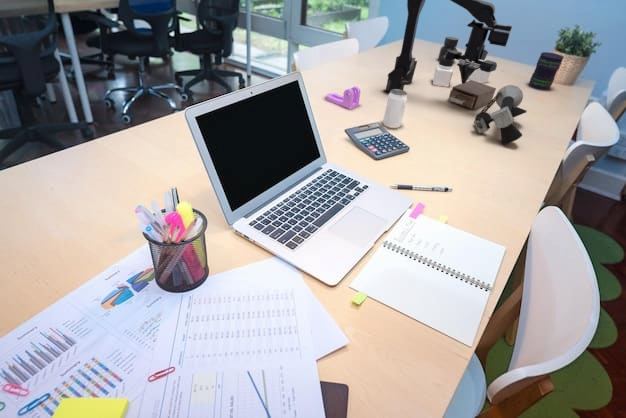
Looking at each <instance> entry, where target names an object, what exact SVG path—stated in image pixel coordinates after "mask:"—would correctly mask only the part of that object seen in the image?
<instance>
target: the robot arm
mask: <svg viewBox="0 0 626 418" xmlns="http://www.w3.org/2000/svg"><path fill="white" fill-rule="evenodd" d="M406 1H407V2H406V7H407V19H406V24H405V30H404V35H403V40H402V45H401V50H400V54H399V55H398V56H399V58H398V61H397V63H396V66H395V65H394V68H395V69H392V70H391V71H390V72H389V73H388V74H387V81H386V87H385V89H383V92H384V93H387V94H389V93H390V91H391V90H393V89H399V90H403V91H404V89H405V84H404V80H405V79H403V77H405V76H406V75H407V74H408V73H409V72H410V71H411V70H412V69H413V68H414V61H416V57H413V49H414V44H415V38H416V34H417V28H418V24H419V19H420V15H421V13H422V10H423V9H424V6H425V4H426V0H406ZM450 1H451V2H452V3H454V4H456V5H458V6H459V7H461V8H463V9H465V10H467V12H468V13H469V14H470V15H471V16H472V17H473V18H474V19H473V20H472V21H470V22H468V24H467V27H468V28H471V31H470V33H469V38H468V40H467V42H466V43H465V50H464V54H463V53H462V51H458V50H457V51H455V50H453V51H449V52H447V53H446V55H445V59H446V60H449V61H452V60H454V59H455V60H457V61H458V63H456V66H458V70H459V73H460V80H461V84H462V83H463V84H464V83H465V82H467V81H469V79H470V75H471V74H472V73H473V72H474V71H475V70H477V69H480V70H482V71H485V72H491V73H492V72H494V71H496V69H497V67H498V63H497V62H496V61H494V60H493V61H492V60H490V59H486V57H487V56H488V54H489V52H488V50H487V49H485V48H486V45H485V42H486V40H487V41H488V42H489V45H494V46H498V47H499V46H500V47H504V48H506V46H507V43H508V40H509V38H510V34H511V31H512V29H513V26H512V25H508V24H507V25H504V24H499V23H498V22H497V19H496V16H495V14H496V7H495V5H494V4H493V3H492V2H489V1H485V0H450ZM476 20H477V21H476ZM488 33H489V34H488ZM487 36H488V37H487Z"/></svg>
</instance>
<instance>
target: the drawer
mask: <svg viewBox="0 0 626 418" xmlns="http://www.w3.org/2000/svg"><path fill="white" fill-rule="evenodd" d="M448 95H449V96H448V99H447V101H448V102H451V103H453V102H454V103H453V104H456V103H457V105H459V106H462V107H464V106H465V108H467V107H468V108H467V109H470V110H472V109H471V108H472V106H473V105H474V102H475V100H476V96H473V95H470V94H467V93H464V92H461V91H458V90H452V89H451V90H450V92H449V94H448Z"/></svg>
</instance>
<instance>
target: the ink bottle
mask: <svg viewBox="0 0 626 418" xmlns="http://www.w3.org/2000/svg"><path fill="white" fill-rule="evenodd" d="M459 40H460V39H459V38H458V37H455V36H445V39H444V41H443V42H444V43H443V45H442V46H441V47H440V48H439V54H438V56H437V61H439V62H440V58H441V57H443V56H445V55H446V53H447V52H449V51H453V50H455V51H458V48H457V47H458V43H459ZM455 60H456V59H454V62H453V64H454V63H455Z"/></svg>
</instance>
